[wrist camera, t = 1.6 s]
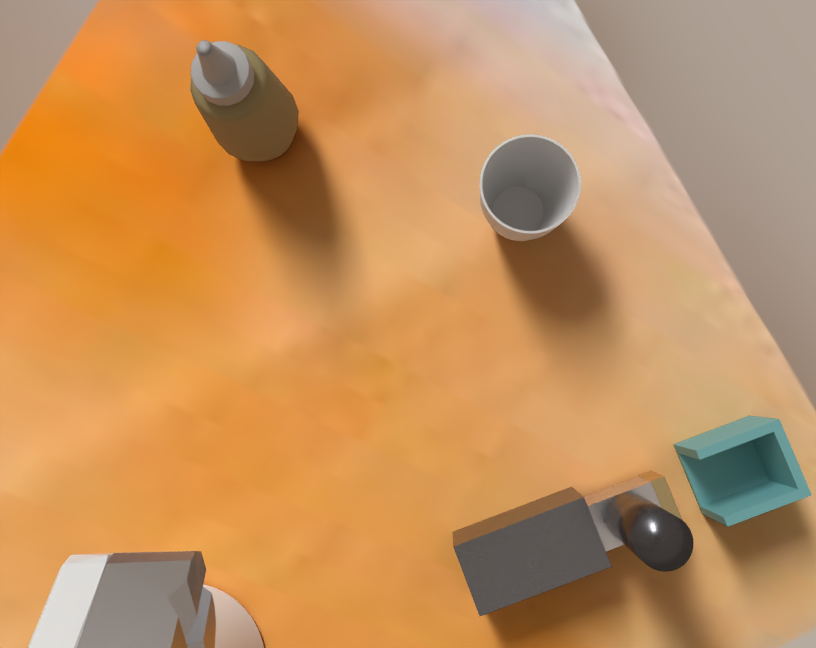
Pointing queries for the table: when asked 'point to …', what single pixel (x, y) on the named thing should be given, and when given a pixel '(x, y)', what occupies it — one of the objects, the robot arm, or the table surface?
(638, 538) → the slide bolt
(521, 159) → the cup
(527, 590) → the sleeve
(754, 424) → the socket
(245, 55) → the squeeze bottle
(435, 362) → the table surface
